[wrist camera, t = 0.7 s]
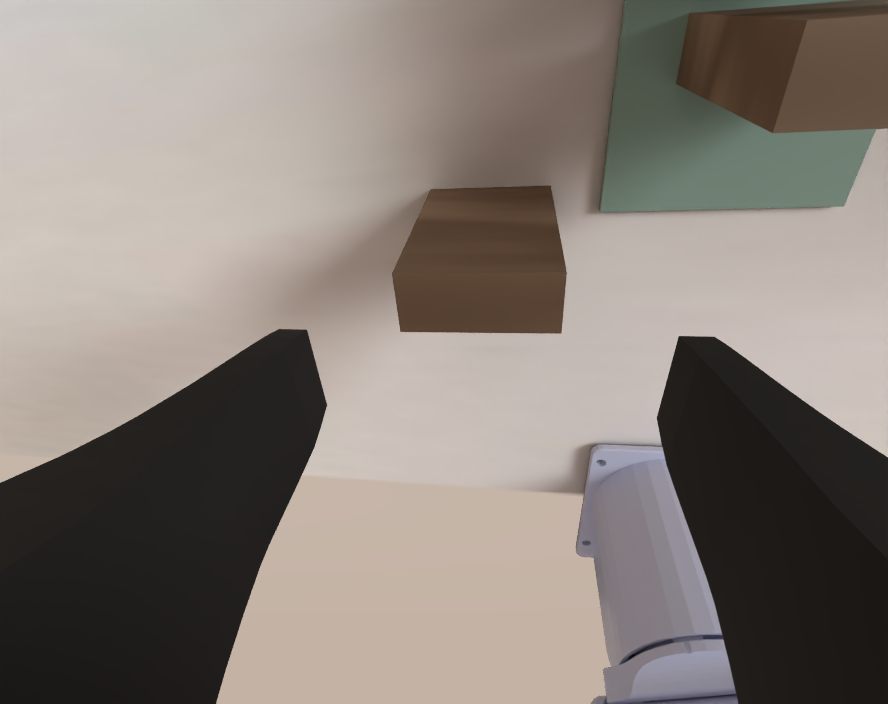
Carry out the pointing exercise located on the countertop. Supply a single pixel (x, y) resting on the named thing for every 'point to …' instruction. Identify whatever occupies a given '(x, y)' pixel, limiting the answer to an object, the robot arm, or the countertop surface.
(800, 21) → the domino
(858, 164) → the mat
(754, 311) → the countertop surface
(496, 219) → the domino
